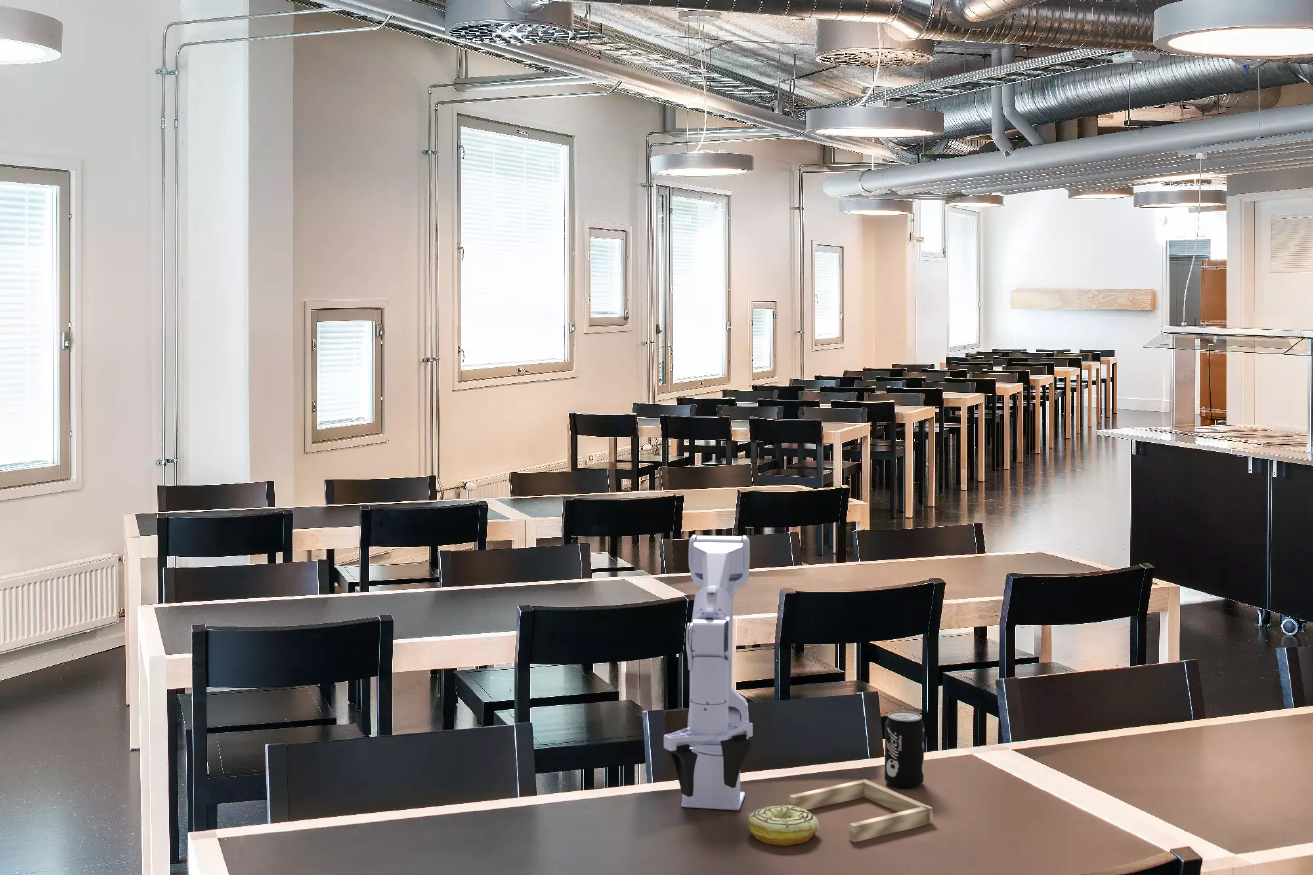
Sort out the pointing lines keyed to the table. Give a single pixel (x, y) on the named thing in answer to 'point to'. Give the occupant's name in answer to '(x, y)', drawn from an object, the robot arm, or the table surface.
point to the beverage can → (904, 749)
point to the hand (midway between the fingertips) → (708, 790)
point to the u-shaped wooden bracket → (907, 808)
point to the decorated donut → (783, 825)
